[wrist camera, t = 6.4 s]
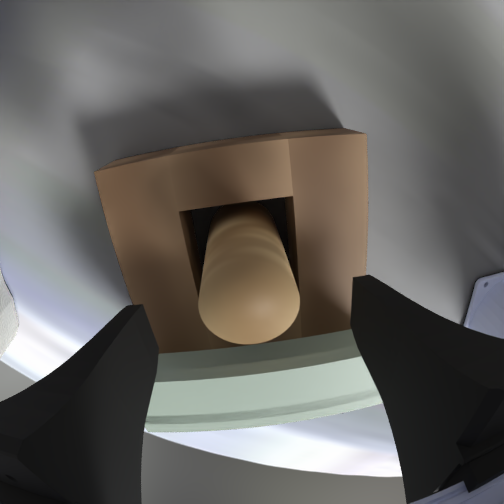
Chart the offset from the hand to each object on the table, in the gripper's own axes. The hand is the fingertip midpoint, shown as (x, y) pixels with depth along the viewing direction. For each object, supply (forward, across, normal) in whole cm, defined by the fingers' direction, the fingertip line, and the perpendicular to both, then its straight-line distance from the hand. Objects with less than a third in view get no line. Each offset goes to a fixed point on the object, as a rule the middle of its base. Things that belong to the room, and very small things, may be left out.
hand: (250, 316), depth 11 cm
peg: (+8, 0, 0) cm, 8 cm away
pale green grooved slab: (+8, 0, +5) cm, 9 cm away
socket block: (+8, 0, 0) cm, 8 cm away
